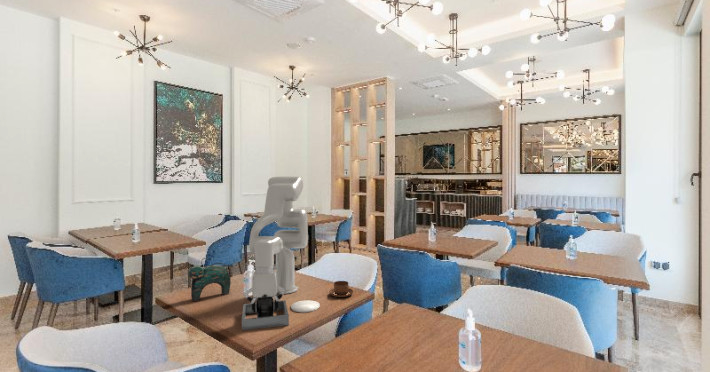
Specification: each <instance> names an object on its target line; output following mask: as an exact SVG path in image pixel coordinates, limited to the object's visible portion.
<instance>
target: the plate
mask: <svg viewBox="0 0 710 372" xmlns="http://www.w3.org/2000/svg"><path fill="white" fill-rule="evenodd" d="M319 307H321V305H320V302H318V301H315V300H309V299H307V300H299V301H295V302H293V303H292V304H291V305H290V309H291V310H292V311H293V312H296V313H302V314H303V313H311V311H312V312H315V311H317V310H319V309H320V308H319ZM318 308H319V309H318Z"/></svg>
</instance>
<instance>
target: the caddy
mask: <svg viewBox="0 0 710 372" xmlns="http://www.w3.org/2000/svg"><path fill="white" fill-rule="evenodd" d="M287 306H288V305H287V301H286V300H285V299H284V300H279V301H278V308H277V311H275V301H274V300H273V311H274V312H279V311H283V314H281V315H280V314H279V315H274V316H268V317H258V318H257V317H250V318H249V317H248V318H246V316H247V314H248V315H250V314H257V302H255V313H254V311H252V304H251V303H243V306H242V315H241V330H242V331H248V330H257V329H266V328H274V327H283V326H285V327H286V326H289V325H290V324H289V323H290V321H289V320H290V319H289V317H290V314H289V311H288V307H287Z"/></svg>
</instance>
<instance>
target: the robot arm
mask: <svg viewBox="0 0 710 372" xmlns="http://www.w3.org/2000/svg"><path fill="white" fill-rule="evenodd" d="M267 180H268V181H267V185H268V188H267V191H266V197H265V202H264V203H265V204H264V210H263V214H262V215H261V216H260V217H259V218H258V219H257V220H256V221H255V223H253V226H252V227H251V230H250V234H249V235H250V236H249V241H248V242H249V243H248V248H249V249H248V250H249V251H250V252H251V253H252V254H254V263H255V264H254V267H255V270H254V272H253V275H252V280H251V281H252V283H251V285H252V286H251V287H250V288H249V289H248V290H246V291H245V292H244V293H243V296H244V297H245V299H247V301H248V302H249V303H250V304H252V311H254V313H253V314H256V313H255V303H256V301H257V298H262V296H264V295H265V294H266V295H268V296H266V297H273V301H275V311H274V312H278V311H277V308H278V301H280V299H281V298H283V296H284V295H285V294H291V293H295V292H297V291H298V289H299V287H298V286H297V285H295V282H296V281H295V276H296V275H295V255H294V253H293V251H292V250H291V249H305V248H306V247H308V244H309V243H308V242H309V233H308V231H309V230H308V229H309V228H308V227H309V226H308V221H309V219H308V214H307V211H306V210H305V209H302V208H301V209H299V208H295V209H294V208H293V206H294V205H293V202H296V201H298V199H299V198H300V195H302V192H303V187H304V182H303V181H304V180H303V178H301V177H299V176H272V177H270V178H269V179H267ZM274 222H276V225H277V226H278V227H279V228H296V229H280V230H277V231H276V232H274V234H273V236H270V235H269V236H267V235H264V236H262V235H259V234H260V232H261V231H262V230H263V228H265V227H267V226H269V225H270V224H273V223H274ZM274 255H275V257H274ZM274 259H275V260H274ZM274 261H275V262H274ZM250 293H251V294H252V297H251V296H250V295H249V294H250Z"/></svg>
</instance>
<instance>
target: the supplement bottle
mask: <svg viewBox="0 0 710 372" xmlns="http://www.w3.org/2000/svg"><path fill="white" fill-rule="evenodd" d="M266 296H268V295H266V294H265V295H264V296H262V298H257V299H256V303H257V313H256V318H258V317H268V316H275V315H274V312H275V311H273V301H274V297H266Z"/></svg>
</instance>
